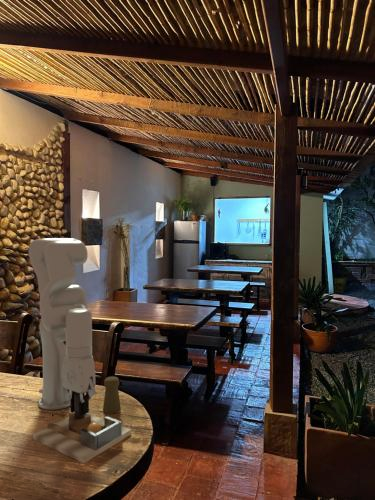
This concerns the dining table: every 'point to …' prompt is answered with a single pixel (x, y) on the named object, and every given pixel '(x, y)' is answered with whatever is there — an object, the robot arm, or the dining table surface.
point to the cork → (111, 395)
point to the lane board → (73, 439)
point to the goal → (102, 434)
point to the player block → (78, 417)
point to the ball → (94, 427)
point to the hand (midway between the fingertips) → (79, 411)
